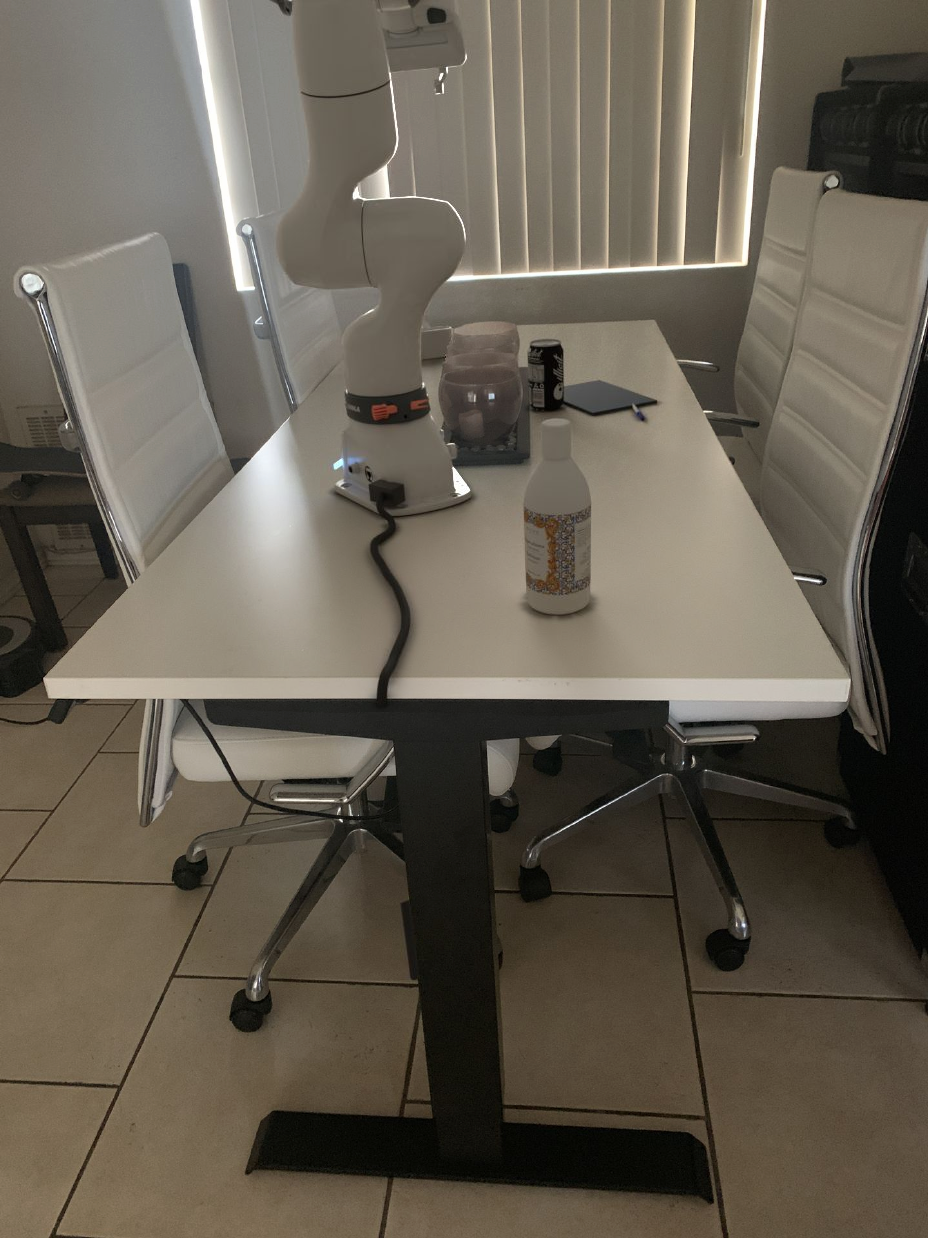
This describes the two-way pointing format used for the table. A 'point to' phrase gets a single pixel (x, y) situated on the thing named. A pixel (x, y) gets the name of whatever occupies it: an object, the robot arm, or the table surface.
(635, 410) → the ballpoint pen
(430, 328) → the phone holder
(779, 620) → the table surface
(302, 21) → the robot arm
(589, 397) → the mat
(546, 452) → the bath foam
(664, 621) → the table surface
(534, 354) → the beverage can
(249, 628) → the table surface
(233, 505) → the table surface
